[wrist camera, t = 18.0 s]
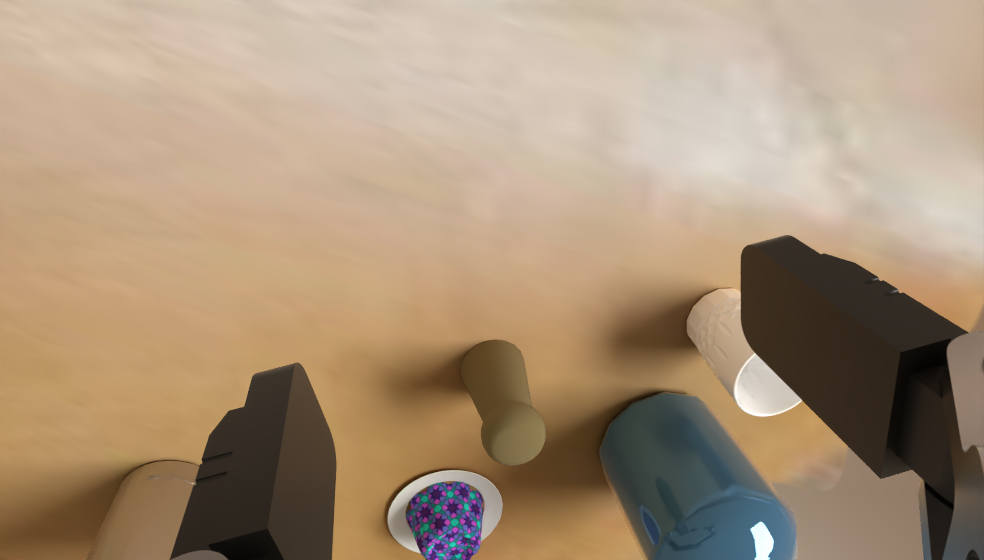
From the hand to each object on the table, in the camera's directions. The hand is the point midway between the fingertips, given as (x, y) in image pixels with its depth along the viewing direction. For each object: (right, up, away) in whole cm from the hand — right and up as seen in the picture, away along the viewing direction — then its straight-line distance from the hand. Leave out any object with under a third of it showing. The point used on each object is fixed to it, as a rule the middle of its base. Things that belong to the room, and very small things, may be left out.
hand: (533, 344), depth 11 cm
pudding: (-6, -23, +55) cm, 59 cm away
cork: (-1, -7, +47) cm, 48 cm away
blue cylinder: (+16, -15, +55) cm, 59 cm away
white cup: (+21, -2, +49) cm, 54 cm away
